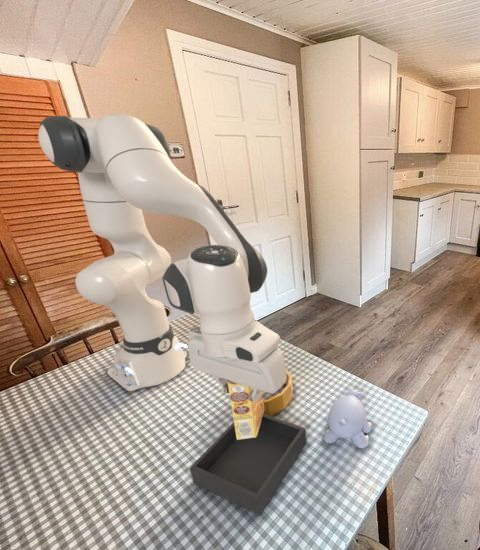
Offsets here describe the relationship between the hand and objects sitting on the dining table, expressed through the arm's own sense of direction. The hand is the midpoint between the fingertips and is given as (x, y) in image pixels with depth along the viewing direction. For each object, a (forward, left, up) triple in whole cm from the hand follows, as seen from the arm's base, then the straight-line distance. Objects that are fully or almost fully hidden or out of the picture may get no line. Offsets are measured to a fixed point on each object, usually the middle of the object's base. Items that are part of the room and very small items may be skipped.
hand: (241, 395), depth 60 cm
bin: (0, 0, -19) cm, 19 cm away
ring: (-10, +17, -19) cm, 27 cm away
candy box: (0, +1, -10) cm, 10 cm away
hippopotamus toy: (+16, +16, -19) cm, 30 cm away
